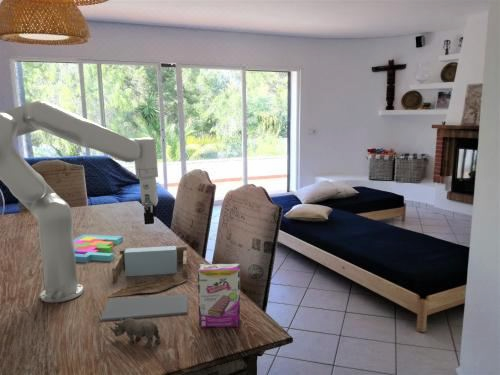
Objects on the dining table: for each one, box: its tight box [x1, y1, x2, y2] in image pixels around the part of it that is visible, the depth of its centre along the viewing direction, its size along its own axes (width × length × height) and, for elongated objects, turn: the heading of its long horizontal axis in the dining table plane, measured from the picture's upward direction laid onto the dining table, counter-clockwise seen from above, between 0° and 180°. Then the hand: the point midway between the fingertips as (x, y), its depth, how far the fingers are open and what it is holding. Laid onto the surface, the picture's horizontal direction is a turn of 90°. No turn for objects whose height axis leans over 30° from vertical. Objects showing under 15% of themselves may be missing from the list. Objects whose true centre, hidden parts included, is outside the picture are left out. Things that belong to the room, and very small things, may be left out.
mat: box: [99, 293, 189, 322], centre depth 118 cm, size 12×24×1 cm, turn 98°
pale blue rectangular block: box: [124, 245, 178, 277], centre depth 145 cm, size 4×18×9 cm, turn 97°
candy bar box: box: [197, 263, 241, 328], centre depth 107 cm, size 11×5×16 cm, turn 92°
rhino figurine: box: [109, 318, 162, 348], centre depth 100 cm, size 4×14×6 cm, turn 74°
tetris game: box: [73, 234, 124, 263], centre depth 171 cm, size 28×3×28 cm
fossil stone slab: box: [107, 276, 188, 298], centre depth 132 cm, size 26×11×1 cm, turn 114°
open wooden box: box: [111, 245, 188, 283], centre depth 147 cm, size 17×25×6 cm
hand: (150, 220), depth 143 cm, fingers open, 9 cm apart
